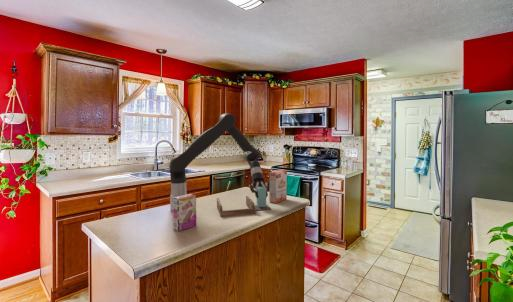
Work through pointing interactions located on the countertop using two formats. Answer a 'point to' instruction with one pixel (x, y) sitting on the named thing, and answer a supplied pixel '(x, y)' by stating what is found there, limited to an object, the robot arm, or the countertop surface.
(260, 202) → the teal block
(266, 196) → the robot arm
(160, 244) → the countertop surface
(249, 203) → the lane
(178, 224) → the candy bar box
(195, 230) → the countertop surface
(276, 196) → the cracker box
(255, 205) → the pad
